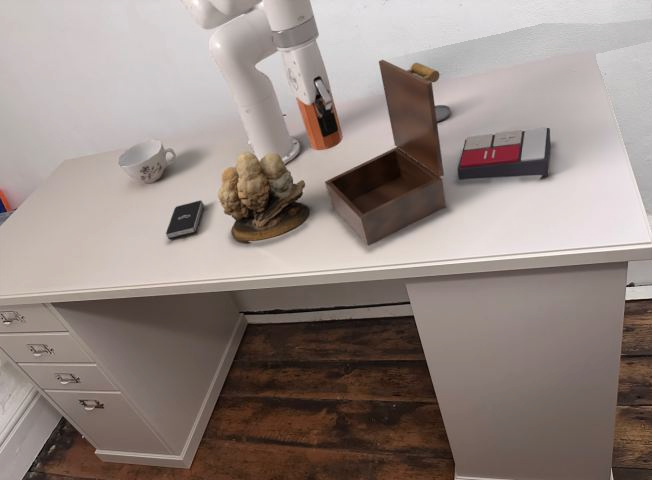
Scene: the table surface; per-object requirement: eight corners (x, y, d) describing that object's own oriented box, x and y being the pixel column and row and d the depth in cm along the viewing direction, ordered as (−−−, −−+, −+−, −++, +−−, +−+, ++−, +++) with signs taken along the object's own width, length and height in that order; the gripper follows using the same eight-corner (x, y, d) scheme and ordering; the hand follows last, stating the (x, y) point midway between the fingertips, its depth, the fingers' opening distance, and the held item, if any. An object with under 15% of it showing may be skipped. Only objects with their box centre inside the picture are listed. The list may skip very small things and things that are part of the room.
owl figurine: (313, 197, 111) (289, 124, 100) (316, 230, 102) (290, 153, 91) (234, 218, 114) (202, 150, 103) (230, 252, 106) (195, 181, 95)
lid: (427, 84, 79) (456, 70, 79) (378, 61, 91) (403, 49, 91) (440, 177, 89) (465, 164, 90) (394, 145, 101) (417, 134, 102)
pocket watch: (454, 108, 119) (450, 65, 113) (442, 128, 115) (437, 84, 108) (420, 109, 124) (414, 68, 117) (407, 128, 119) (400, 86, 113)
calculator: (464, 134, 103) (549, 123, 96) (467, 153, 106) (550, 143, 98) (456, 166, 96) (547, 156, 89) (459, 185, 99) (548, 177, 92)
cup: (304, 147, 104) (289, 99, 98) (327, 130, 106) (314, 83, 100) (326, 152, 99) (311, 103, 93) (349, 135, 102) (336, 86, 95)
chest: (369, 249, 93) (360, 218, 88) (333, 210, 105) (324, 181, 101) (446, 210, 94) (442, 178, 90) (402, 176, 106) (396, 146, 102)
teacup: (127, 195, 139) (111, 170, 134) (138, 171, 148) (123, 146, 143) (178, 181, 136) (164, 154, 131) (186, 157, 145) (173, 131, 140)
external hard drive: (205, 206, 122) (202, 199, 121) (197, 235, 114) (193, 228, 113) (178, 213, 124) (175, 206, 122) (168, 242, 116) (164, 235, 114)
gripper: (261, 33, 96) (290, 122, 107) (293, 52, 83) (322, 151, 94) (297, 16, 96) (323, 106, 108) (335, 32, 83) (359, 133, 94)
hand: (322, 126), depth 101 cm, fingers closed on cup, 6 cm apart
